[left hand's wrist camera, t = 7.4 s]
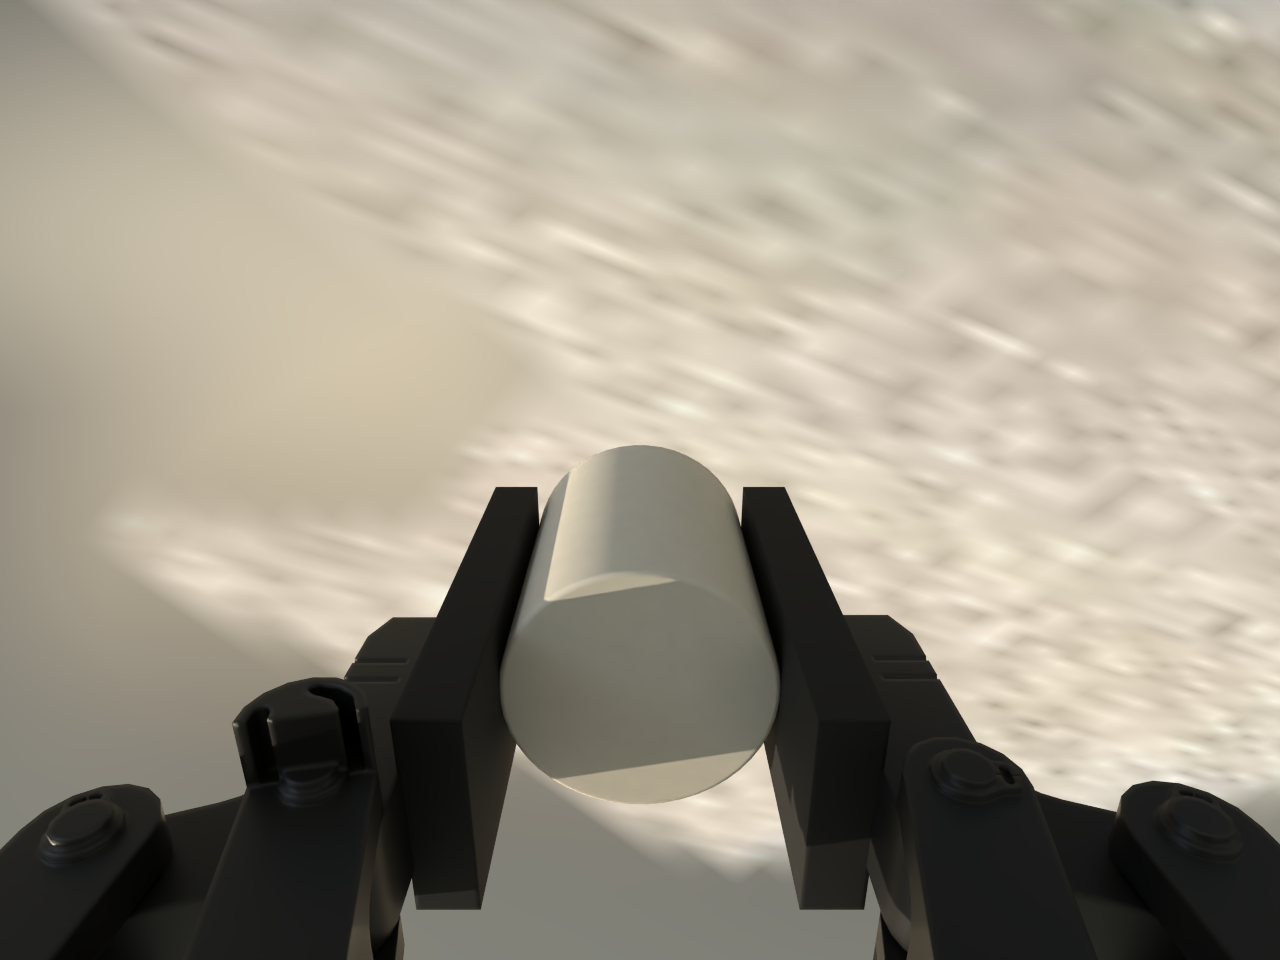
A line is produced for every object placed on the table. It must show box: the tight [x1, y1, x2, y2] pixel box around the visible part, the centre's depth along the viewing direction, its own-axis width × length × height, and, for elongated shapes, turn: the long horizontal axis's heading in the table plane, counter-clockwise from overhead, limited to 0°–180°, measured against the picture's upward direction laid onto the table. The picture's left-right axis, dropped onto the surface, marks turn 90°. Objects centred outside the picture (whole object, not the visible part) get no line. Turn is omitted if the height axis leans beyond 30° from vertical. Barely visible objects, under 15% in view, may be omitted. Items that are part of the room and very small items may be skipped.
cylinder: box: [499, 445, 781, 804], centre depth 13 cm, size 4×4×5 cm
